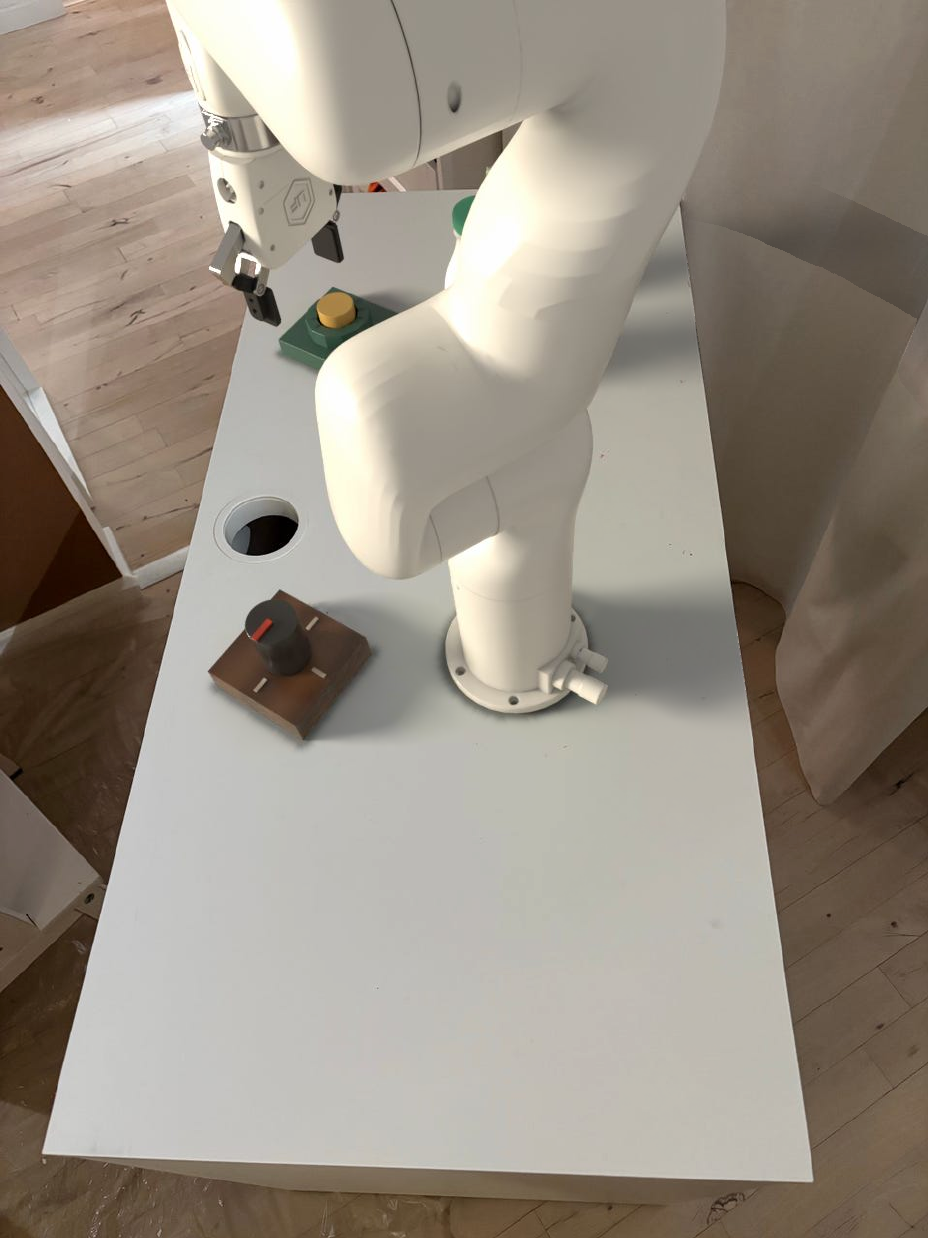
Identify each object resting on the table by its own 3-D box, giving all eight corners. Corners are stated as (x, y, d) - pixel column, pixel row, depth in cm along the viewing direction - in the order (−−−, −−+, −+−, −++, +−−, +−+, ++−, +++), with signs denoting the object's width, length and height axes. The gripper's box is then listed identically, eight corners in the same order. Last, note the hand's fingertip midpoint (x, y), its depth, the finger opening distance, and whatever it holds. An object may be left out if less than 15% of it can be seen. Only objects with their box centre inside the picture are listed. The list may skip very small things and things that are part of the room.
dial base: (372, 654, 86) (366, 636, 83) (303, 741, 82) (295, 725, 79) (287, 606, 89) (279, 587, 86) (217, 687, 85) (206, 670, 83)
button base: (405, 329, 108) (400, 301, 104) (352, 385, 104) (345, 357, 100) (336, 301, 111) (329, 272, 108) (282, 354, 107) (273, 326, 104)
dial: (283, 624, 84) (266, 588, 80) (321, 646, 83) (307, 611, 78) (251, 661, 83) (232, 627, 78) (290, 684, 81) (273, 651, 76)
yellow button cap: (363, 311, 104) (360, 299, 103) (341, 334, 103) (338, 321, 101) (334, 300, 106) (331, 287, 104) (312, 322, 104) (309, 309, 103)
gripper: (217, 188, 70) (273, 360, 85) (354, 67, 77) (383, 246, 92) (142, 159, 72) (209, 332, 87) (281, 45, 79) (322, 222, 94)
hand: (299, 288), depth 89 cm, fingers open, 9 cm apart
